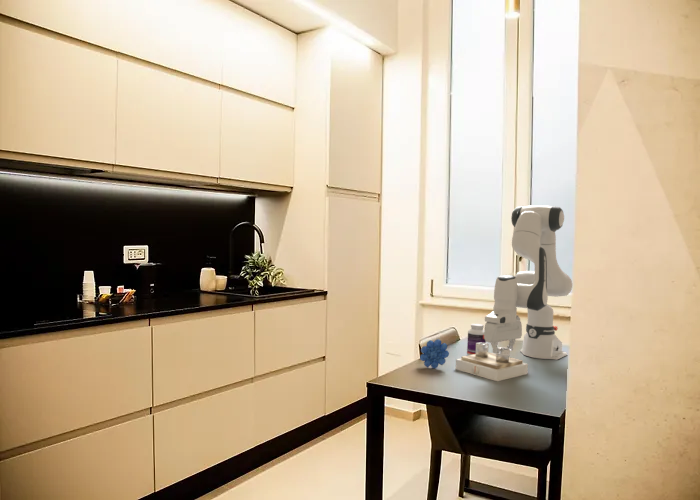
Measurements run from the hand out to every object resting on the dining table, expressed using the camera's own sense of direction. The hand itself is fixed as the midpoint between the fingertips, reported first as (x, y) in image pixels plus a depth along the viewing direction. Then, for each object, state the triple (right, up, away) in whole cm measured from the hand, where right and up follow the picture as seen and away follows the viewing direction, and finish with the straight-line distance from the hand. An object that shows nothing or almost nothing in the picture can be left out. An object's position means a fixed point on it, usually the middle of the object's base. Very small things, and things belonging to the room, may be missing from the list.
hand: (502, 351), depth 202 cm
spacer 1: (-6, -3, +8) cm, 11 cm away
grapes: (-26, -8, +7) cm, 28 cm away
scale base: (-3, -9, +4) cm, 10 cm away
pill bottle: (-3, -8, +30) cm, 31 cm away
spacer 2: (0, -4, 0) cm, 4 cm away
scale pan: (-3, -5, +4) cm, 7 cm away
